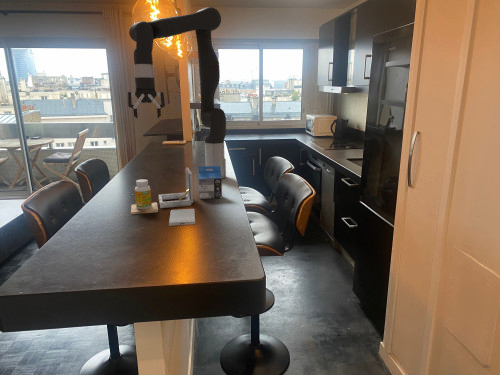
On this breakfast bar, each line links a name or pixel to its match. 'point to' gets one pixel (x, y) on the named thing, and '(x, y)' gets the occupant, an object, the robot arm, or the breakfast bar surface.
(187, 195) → the open hinged lid box
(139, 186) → the supplement bottle
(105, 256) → the breakfast bar surface
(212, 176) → the blue and grey carton
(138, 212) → the cork pad
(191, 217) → the hard drive
